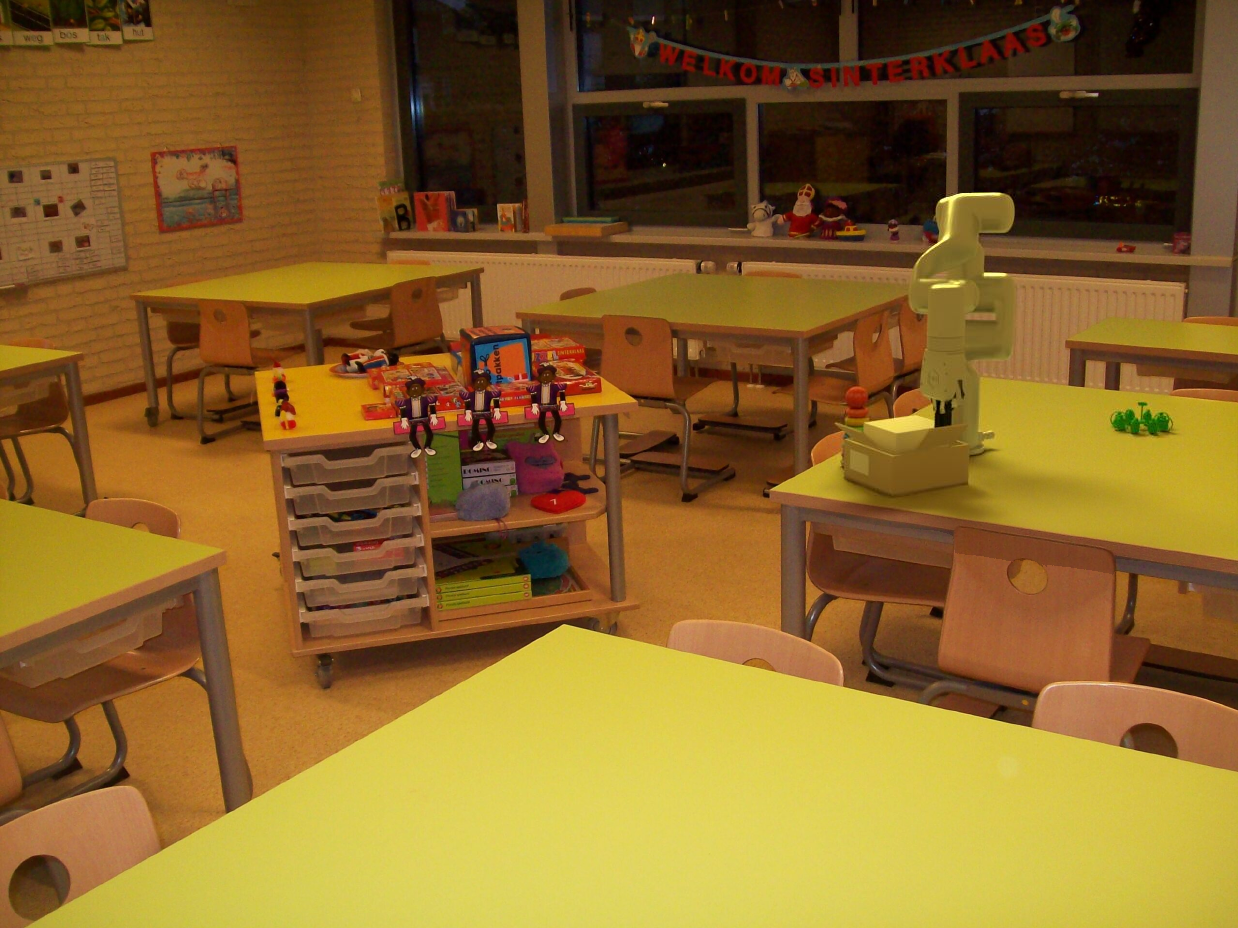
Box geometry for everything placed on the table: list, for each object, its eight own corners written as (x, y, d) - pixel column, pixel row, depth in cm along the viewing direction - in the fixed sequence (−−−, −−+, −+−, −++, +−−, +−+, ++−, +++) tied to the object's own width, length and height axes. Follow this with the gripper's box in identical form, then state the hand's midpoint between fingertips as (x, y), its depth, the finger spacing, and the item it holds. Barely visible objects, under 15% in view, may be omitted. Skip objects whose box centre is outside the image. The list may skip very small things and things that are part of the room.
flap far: (855, 438, 269) (854, 440, 269) (835, 422, 266) (834, 423, 266) (882, 448, 260) (881, 449, 260) (862, 431, 257) (861, 432, 257)
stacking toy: (873, 461, 288) (874, 383, 283) (876, 470, 280) (878, 390, 275) (839, 462, 288) (839, 384, 284) (841, 470, 281) (842, 390, 276)
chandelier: (1163, 439, 299) (1166, 411, 297) (1100, 432, 308) (1102, 405, 306) (1179, 427, 310) (1182, 400, 309) (1118, 420, 319) (1120, 395, 317)
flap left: (915, 447, 259) (916, 449, 258) (929, 428, 253) (930, 430, 253) (953, 441, 262) (954, 443, 262) (968, 422, 257) (969, 424, 257)
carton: (917, 465, 283) (919, 410, 280) (970, 483, 266) (972, 425, 263) (842, 477, 275) (842, 421, 272) (891, 497, 259) (892, 438, 255)
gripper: (908, 341, 257) (906, 425, 262) (953, 351, 244) (950, 440, 249) (938, 337, 260) (935, 421, 265) (983, 347, 247) (980, 435, 252)
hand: (942, 430), depth 257 cm, fingers closed
